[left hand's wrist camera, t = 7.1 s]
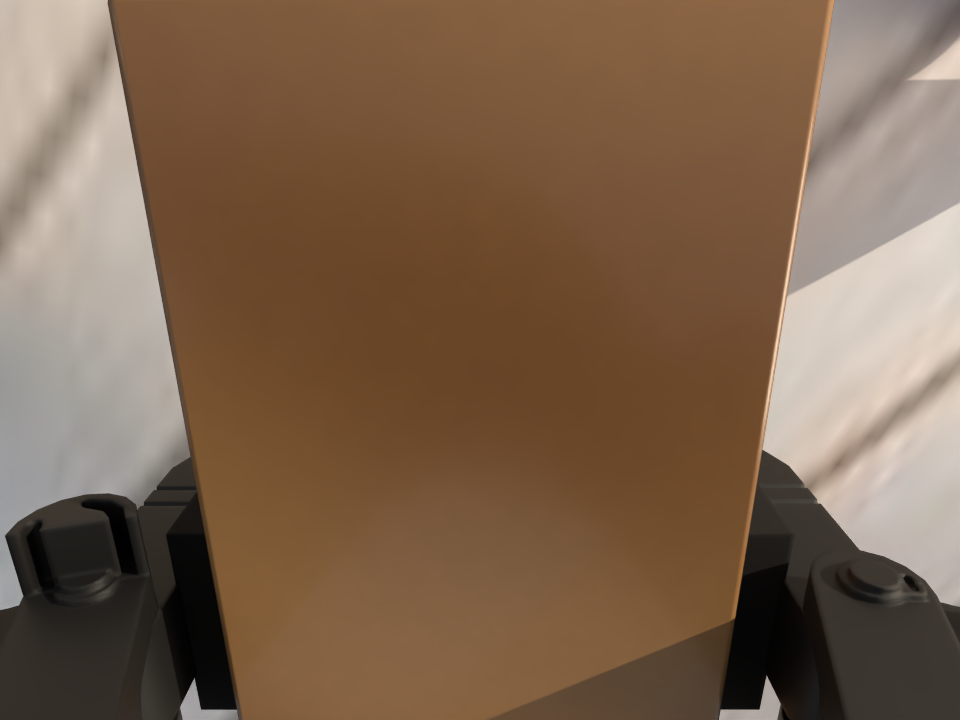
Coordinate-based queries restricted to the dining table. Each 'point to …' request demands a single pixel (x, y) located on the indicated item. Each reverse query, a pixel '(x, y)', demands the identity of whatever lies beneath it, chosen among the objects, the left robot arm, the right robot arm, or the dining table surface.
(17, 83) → the dining table surface
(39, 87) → the dining table surface
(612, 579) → the beam
